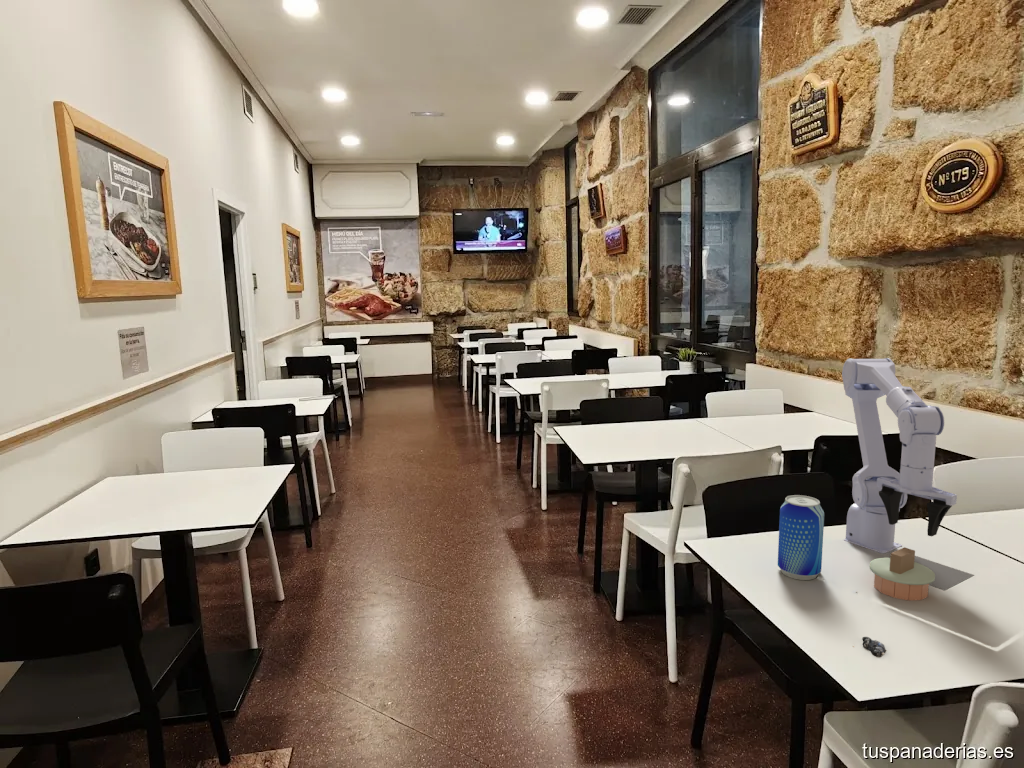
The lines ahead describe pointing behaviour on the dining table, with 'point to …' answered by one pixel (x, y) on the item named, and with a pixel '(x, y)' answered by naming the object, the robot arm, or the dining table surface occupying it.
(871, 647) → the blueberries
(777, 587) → the dining table surface
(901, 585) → the bowl
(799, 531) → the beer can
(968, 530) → the dining table surface
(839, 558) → the dining table surface
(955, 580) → the mat
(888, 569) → the lid
